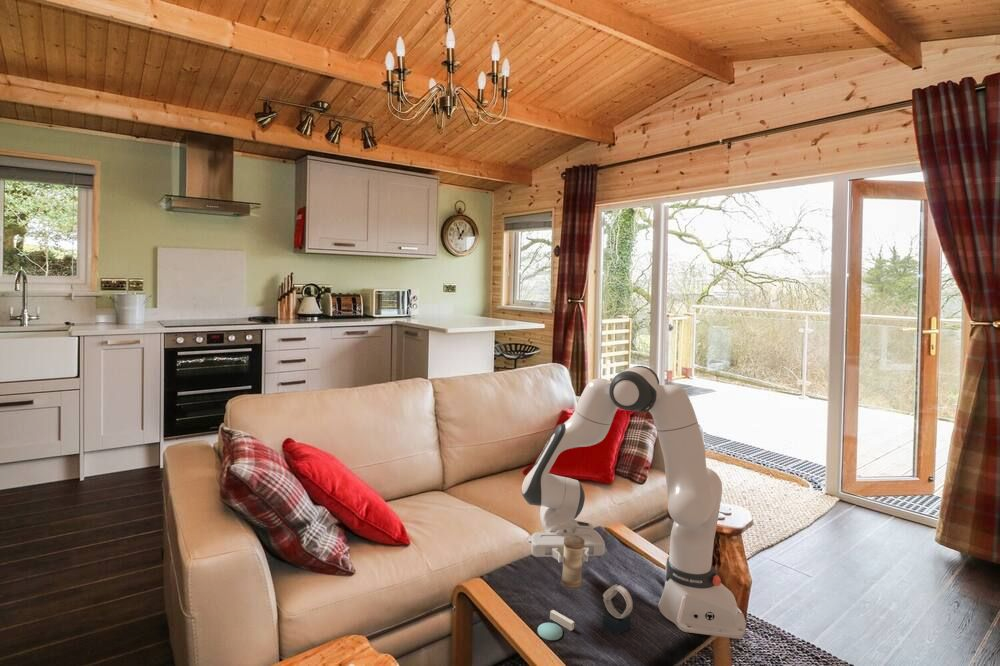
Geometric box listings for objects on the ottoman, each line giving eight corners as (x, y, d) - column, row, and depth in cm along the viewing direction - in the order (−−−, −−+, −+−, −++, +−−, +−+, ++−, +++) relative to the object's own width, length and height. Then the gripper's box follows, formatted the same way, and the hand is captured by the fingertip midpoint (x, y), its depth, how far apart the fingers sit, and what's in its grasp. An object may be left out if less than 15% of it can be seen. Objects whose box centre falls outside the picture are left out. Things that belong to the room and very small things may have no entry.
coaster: (565, 627, 147) (565, 626, 147) (559, 643, 141) (559, 641, 141) (541, 621, 149) (541, 620, 149) (534, 636, 143) (534, 635, 143)
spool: (583, 579, 152) (586, 537, 150) (579, 590, 147) (582, 547, 145) (563, 575, 154) (566, 533, 152) (558, 585, 149) (561, 542, 147)
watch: (611, 614, 154) (613, 576, 152) (635, 630, 148) (638, 591, 146) (597, 622, 150) (599, 583, 149) (621, 638, 144) (624, 598, 143)
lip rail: (549, 618, 151) (550, 611, 151) (552, 616, 152) (552, 609, 152) (571, 631, 146) (571, 623, 146) (573, 628, 147) (574, 621, 147)
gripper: (526, 524, 161) (535, 549, 147) (597, 523, 163) (611, 547, 149) (525, 545, 161) (534, 571, 148) (595, 544, 164) (610, 570, 150)
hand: (573, 559), depth 149 cm, fingers closed on spool, 5 cm apart
